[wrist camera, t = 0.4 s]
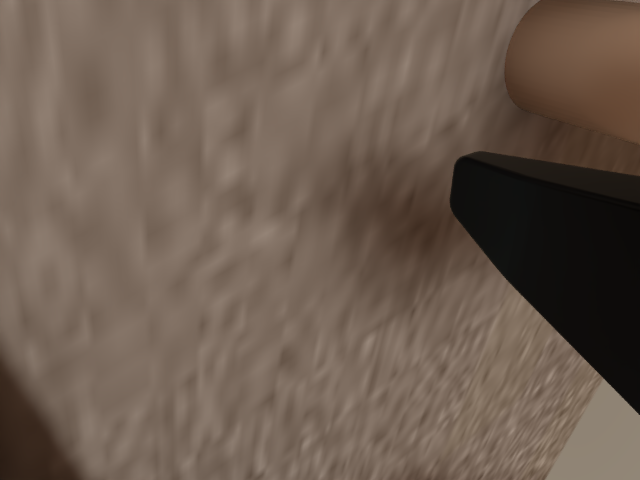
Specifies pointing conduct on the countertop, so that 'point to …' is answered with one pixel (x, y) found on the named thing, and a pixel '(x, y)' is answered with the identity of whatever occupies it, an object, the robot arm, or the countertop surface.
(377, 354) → the countertop surface
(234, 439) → the countertop surface
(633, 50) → the canister
